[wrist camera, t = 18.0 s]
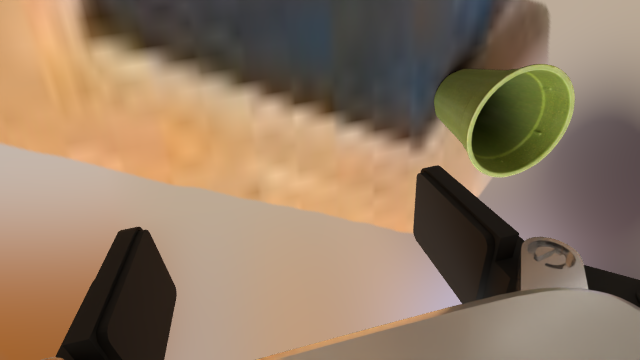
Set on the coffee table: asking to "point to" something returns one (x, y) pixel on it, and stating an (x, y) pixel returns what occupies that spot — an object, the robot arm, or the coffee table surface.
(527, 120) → the plant pot
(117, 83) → the coffee table surface
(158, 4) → the coffee table surface
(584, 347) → the robot arm
